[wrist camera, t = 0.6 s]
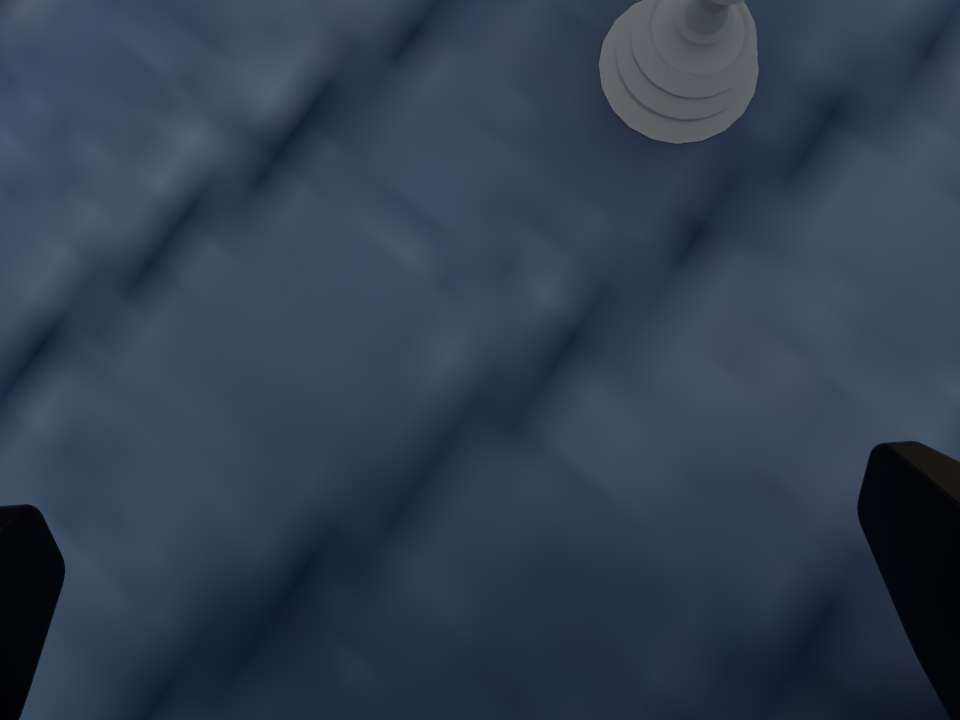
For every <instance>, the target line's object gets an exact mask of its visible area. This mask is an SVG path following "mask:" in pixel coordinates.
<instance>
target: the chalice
mask: <svg viewBox="0 0 960 720" xmlns="http://www.w3.org/2000/svg"><path fill="white" fill-rule="evenodd" d="M744 1H746V0H641V1H640V2H638V3H636V4H633V5H632V6H631V7H630V8H629V9H628V10H627V11H625V12H624V13H623V14H622V15H621V16H620V17H619V18H618V19H616V20H615V22H614V24H613V25H612V27H611V29H610V30H609V32H608V34H607V36H606V37H605V39H604V41H603V45H602V50H601V55H600V60H599V71H600V79H601V86H602V89H603V92H604V94H605V96H606V98H607V100H608V102H609V104H610V106H611V108H612V110H613V111H614V112H615V113H616V114H617V115H618V116H619V117H620V118H621V119H622V120H623V121H624V122H625V123H626V124H627V125H628V126H629V127H630V128H632V129H634V130H636V131H637V132H639V133H641V134H643V135H645V136H647V137H649V138H651V139H653V140H659V141H664V142H669V143H675V144H680V143H689V142H698V141H703V140H705V139H708V138H710V137H712V136H714V135H717V134H719V133H721V132H723V131H725V130H726V129H727V128H728V127H730V126H731V125H732V124H733V123H734V122H735V121H736V120H737V119H738V118H739V117H741V116H742V115H743V113H744V112H745V110H746V108H747V106H748V104H749V103H750V101H751V99H752V97H753V95H754V94H755V89H756V83H757V78H758V72H759V67H758V61H757V57H758V51H757V34H756V28H755V21H754V19H753V17H752V15H751V13H750V12H749V10H748V8H747V6H746V4H745V3H744Z"/></svg>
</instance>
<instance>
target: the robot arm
mask: <svg viewBox="0 0 960 720" xmlns="http://www.w3.org/2000/svg"><path fill="white" fill-rule="evenodd" d="M857 510H858V517H859V522H860V524H861V527H862V530H863V532H864V534H865V537H866V539H867V542H868V544H869V546H870V549H871V551H872V553H873V556H874V558H875V561H876V563H877V565H878V568H879V570H880V573H881V575H882V577H883V580H884V582H885V585H886V587H887V589H888V592H889V594H890V596H891V599H892V601H893V604H894V606H895V608H896V611H897V613H898V616H899V618H900V620H901V623H902V625H903V627H904V630H905V632H906V634H907V636H908V639H909V641H910V643H911V645H912V647H913V650H914V652H915V654H916V656H917V658H918V660H919V661H920V663H921V665H922V667H923V669H924V671H925V673H926V675H927V677H928V679H929V680H930V682H931V684H932V686H933V688H934V689H935V691H936V693H937V695H938V697H939V699H940V700H941V702H942V704H943V706H944V708H945V709H946V711H947V713H948V715H949V717H950V719H951V720H960V462H959V461H957V460H955V459H953V458H951V457H948V456H946V455H944V454H942V453H940V452H938V451H936V450H934V449H932V448H930V447H928V446H926V445H924V444H922V443H919V442H915V441H904V442H890V443H881V444H879V445H876V446H875V447H874V448H873V450H872V451H871V453H870V456H869V459H868V463H867V467H866V471H865V475H864V479H863V483H862V486H861V490H860V494H859V498H858V506H857ZM64 576H65V565H64V560H63V557H62V554H61V552H60V550H59V548H58V546H57V544H56V542H55V540H54V538H53V536H52V534H51V531H50V529H49V527H48V525H47V523H46V521H45V519H44V517H43V515H42V513H41V512H40V510H38V509H37V508H36V507H34V506H32V505H27V504H25V505H11V506H0V720H19V718H20V716H21V713H22V710H23V707H24V705H25V702H26V699H27V696H28V693H29V690H30V687H31V684H32V681H33V677H34V674H35V671H36V668H37V665H38V662H39V658H40V655H41V652H42V649H43V646H44V643H45V639H46V636H47V633H48V630H49V627H50V624H51V620H52V617H53V614H54V611H55V608H56V605H57V601H58V598H59V595H60V592H61V589H62V586H63V582H64Z"/></svg>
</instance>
